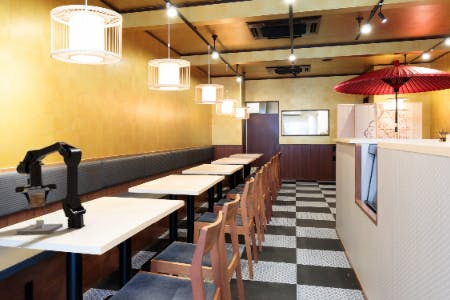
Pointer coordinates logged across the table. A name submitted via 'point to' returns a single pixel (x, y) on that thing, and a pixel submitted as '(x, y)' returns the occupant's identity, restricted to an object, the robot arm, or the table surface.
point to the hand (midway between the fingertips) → (37, 203)
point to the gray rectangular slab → (40, 229)
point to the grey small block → (39, 223)
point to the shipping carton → (37, 200)
